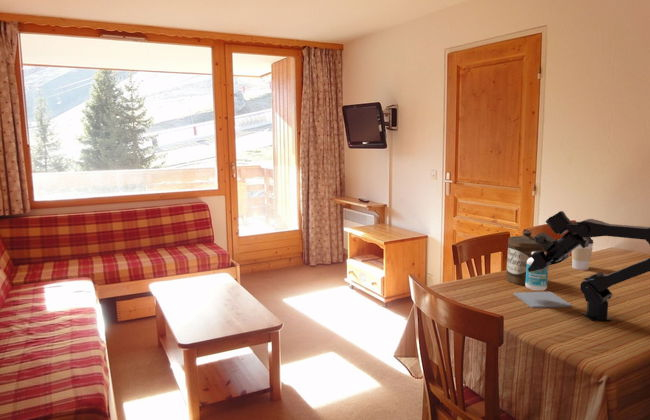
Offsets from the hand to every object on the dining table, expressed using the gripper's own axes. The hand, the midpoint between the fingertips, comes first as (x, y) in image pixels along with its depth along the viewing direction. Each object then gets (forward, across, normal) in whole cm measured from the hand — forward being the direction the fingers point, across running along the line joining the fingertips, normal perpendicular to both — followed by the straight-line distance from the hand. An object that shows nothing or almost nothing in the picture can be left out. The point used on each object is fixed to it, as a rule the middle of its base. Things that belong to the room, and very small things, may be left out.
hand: (533, 268), depth 177 cm
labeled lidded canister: (+19, -21, -1) cm, 28 cm away
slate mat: (+7, -3, +10) cm, 13 cm away
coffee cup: (+13, -60, +4) cm, 61 cm away
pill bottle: (+4, 0, +6) cm, 7 cm away
